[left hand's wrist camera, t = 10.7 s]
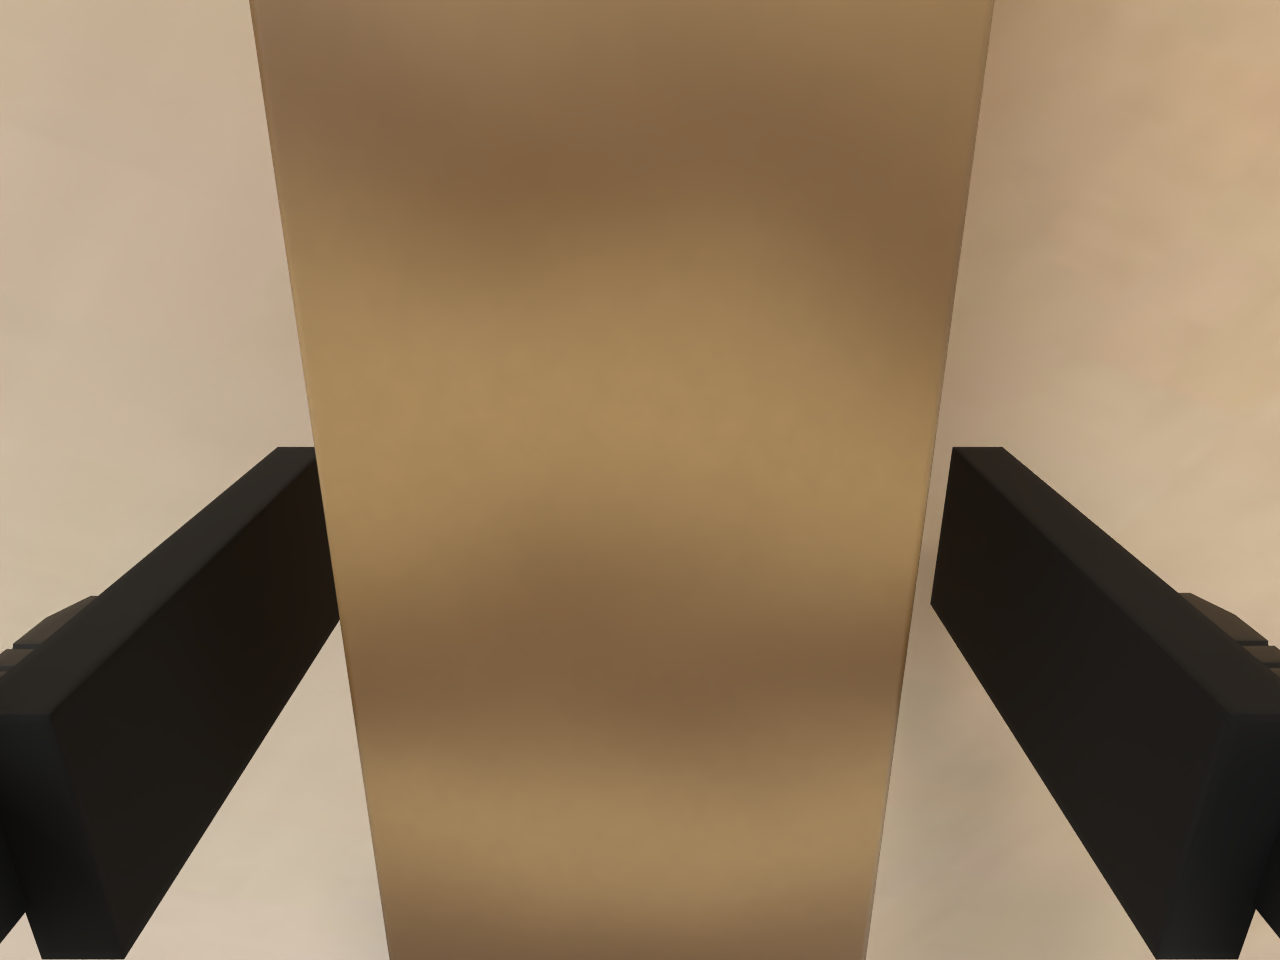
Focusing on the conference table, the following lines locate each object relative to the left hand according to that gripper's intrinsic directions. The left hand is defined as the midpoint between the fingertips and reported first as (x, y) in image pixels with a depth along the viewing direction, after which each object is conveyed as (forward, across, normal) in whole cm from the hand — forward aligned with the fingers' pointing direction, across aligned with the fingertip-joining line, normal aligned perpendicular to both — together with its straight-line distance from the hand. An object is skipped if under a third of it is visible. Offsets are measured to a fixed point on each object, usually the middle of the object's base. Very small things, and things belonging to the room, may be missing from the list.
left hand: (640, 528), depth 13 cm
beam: (+3, 0, -33) cm, 33 cm away
